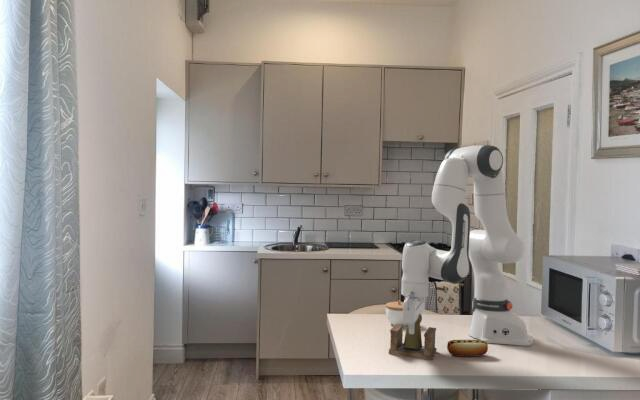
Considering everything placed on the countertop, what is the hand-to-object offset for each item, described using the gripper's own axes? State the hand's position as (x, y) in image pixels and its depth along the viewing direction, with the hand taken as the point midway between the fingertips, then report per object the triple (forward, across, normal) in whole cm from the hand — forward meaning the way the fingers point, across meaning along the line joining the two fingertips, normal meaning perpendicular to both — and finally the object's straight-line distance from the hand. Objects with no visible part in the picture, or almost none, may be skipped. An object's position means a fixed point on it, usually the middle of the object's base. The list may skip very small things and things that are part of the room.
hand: (413, 331), depth 169 cm
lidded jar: (+7, +32, +12) cm, 35 cm away
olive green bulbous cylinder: (+5, 0, 0) cm, 5 cm away
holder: (+7, 0, 0) cm, 7 cm away
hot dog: (+7, +5, -17) cm, 19 cm away
